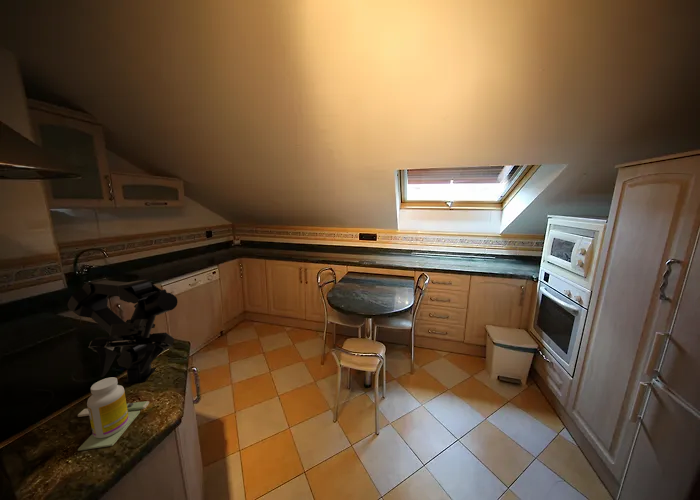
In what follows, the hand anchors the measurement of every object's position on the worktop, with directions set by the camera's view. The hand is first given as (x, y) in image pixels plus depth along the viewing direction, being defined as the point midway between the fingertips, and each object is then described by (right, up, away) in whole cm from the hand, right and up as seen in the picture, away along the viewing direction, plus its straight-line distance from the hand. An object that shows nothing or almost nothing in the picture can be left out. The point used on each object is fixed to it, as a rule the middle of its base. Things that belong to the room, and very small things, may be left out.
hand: (121, 374), depth 65 cm
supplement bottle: (+1, -12, -3) cm, 13 cm away
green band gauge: (-3, -12, -3) cm, 13 cm away
